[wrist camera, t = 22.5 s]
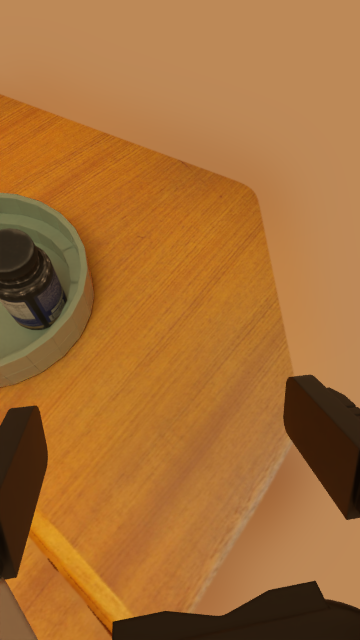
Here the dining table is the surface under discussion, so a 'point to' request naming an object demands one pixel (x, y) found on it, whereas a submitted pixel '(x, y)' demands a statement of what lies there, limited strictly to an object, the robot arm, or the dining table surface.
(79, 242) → the bowl
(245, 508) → the dining table surface
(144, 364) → the dining table surface
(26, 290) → the pill bottle
